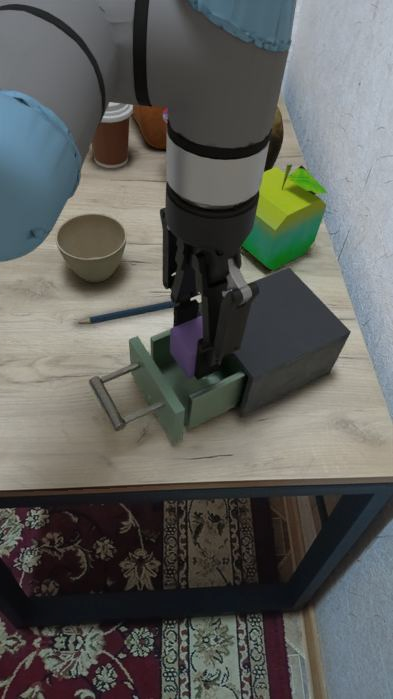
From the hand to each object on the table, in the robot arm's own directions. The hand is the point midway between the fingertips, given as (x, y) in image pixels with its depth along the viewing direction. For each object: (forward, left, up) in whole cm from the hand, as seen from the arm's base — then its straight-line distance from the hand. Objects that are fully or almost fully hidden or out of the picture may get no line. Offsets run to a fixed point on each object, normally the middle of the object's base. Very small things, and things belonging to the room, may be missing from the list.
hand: (194, 356), depth 57 cm
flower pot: (-26, -2, -8) cm, 27 cm away
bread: (-60, +30, -8) cm, 68 cm away
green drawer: (0, -2, -7) cm, 7 cm away
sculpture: (-37, +34, -8) cm, 51 cm away
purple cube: (0, 0, 0) cm, 0 cm away
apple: (-19, +26, -8) cm, 33 cm away
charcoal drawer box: (0, +11, -8) cm, 14 cm away
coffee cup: (-53, +13, -8) cm, 55 cm away
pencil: (-16, -1, -8) cm, 18 cm away
